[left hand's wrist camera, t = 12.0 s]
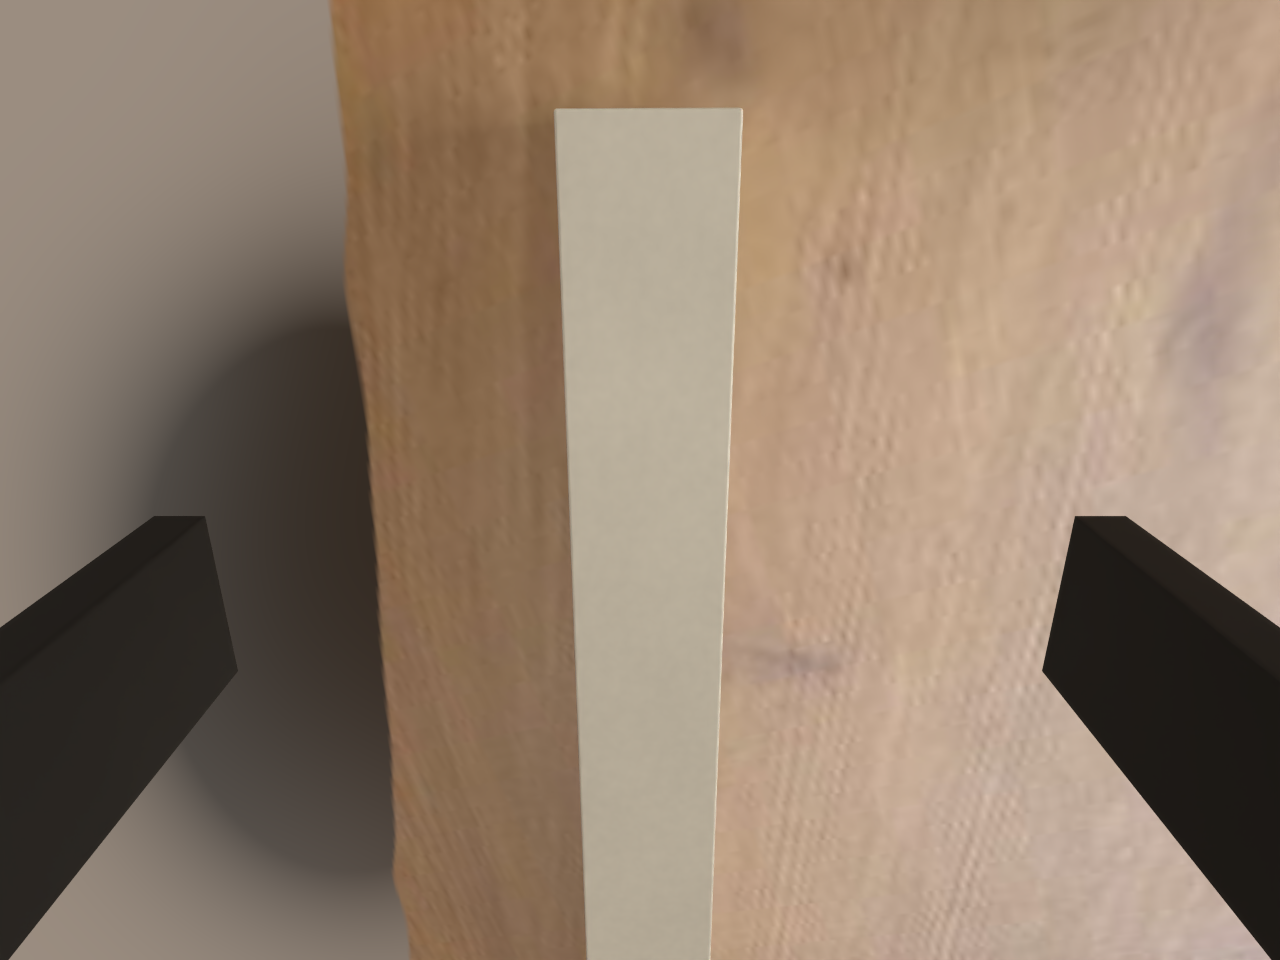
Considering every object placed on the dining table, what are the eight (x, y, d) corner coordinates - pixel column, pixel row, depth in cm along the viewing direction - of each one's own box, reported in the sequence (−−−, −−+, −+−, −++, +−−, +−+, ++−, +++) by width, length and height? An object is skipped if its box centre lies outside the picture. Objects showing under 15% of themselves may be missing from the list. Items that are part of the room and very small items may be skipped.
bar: (574, 121, 31) (553, 108, 24) (718, 121, 31) (743, 107, 24) (603, 1073, 52) (596, 1230, 44) (691, 1073, 52) (699, 1230, 44)
